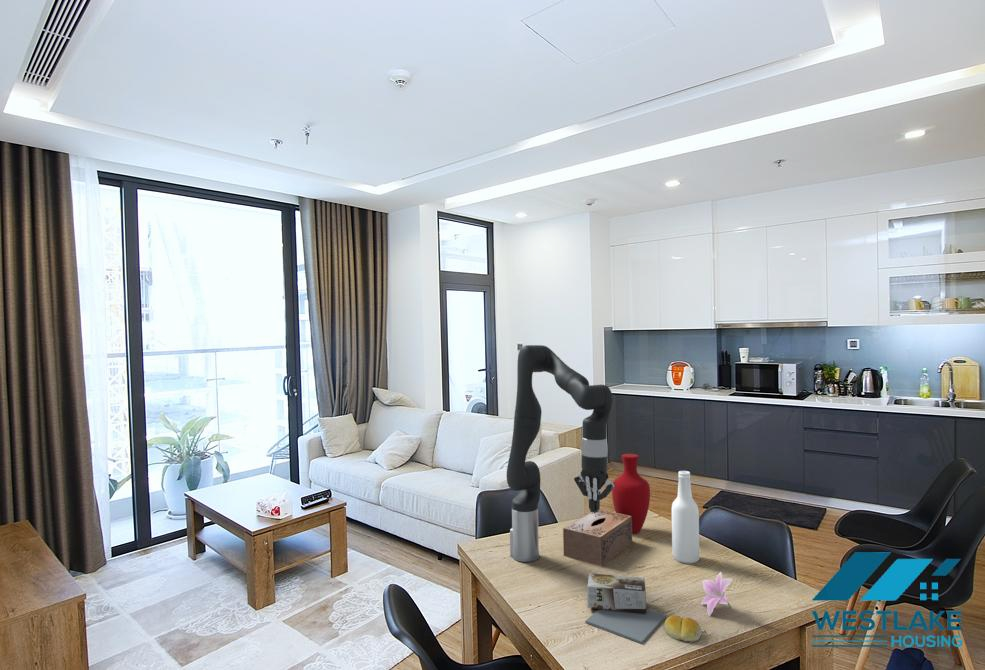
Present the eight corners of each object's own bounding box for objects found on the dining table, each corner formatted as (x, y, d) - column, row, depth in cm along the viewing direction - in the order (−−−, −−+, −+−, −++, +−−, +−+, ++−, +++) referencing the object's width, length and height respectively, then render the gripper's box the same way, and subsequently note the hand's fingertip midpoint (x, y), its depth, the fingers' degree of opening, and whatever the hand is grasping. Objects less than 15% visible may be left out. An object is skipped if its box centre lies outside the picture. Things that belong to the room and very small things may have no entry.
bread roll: (668, 621, 144) (668, 607, 144) (703, 631, 139) (703, 615, 139) (660, 636, 137) (660, 621, 137) (697, 647, 132) (696, 630, 132)
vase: (613, 537, 204) (612, 459, 204) (611, 523, 218) (610, 450, 218) (653, 539, 201) (651, 460, 201) (648, 525, 216) (647, 451, 216)
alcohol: (675, 551, 189) (673, 467, 189) (701, 556, 185) (699, 470, 185) (669, 561, 182) (668, 473, 182) (697, 566, 177) (695, 476, 177)
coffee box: (587, 608, 150) (646, 614, 146) (587, 585, 150) (646, 591, 146) (589, 594, 159) (645, 599, 155) (589, 572, 159) (645, 577, 155)
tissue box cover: (597, 534, 208) (596, 508, 208) (632, 542, 199) (631, 516, 199) (563, 556, 188) (563, 528, 188) (600, 566, 179) (600, 537, 179)
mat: (585, 622, 144) (585, 620, 144) (612, 599, 156) (612, 597, 156) (641, 643, 134) (641, 641, 134) (666, 617, 146) (666, 614, 146)
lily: (705, 597, 158) (690, 571, 157) (745, 590, 153) (730, 563, 152) (706, 630, 148) (691, 602, 147) (749, 623, 143) (733, 594, 141)
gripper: (568, 452, 157) (568, 510, 157) (608, 459, 149) (608, 520, 149) (581, 447, 163) (581, 503, 163) (621, 454, 154) (620, 513, 155)
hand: (594, 511), depth 156 cm, fingers closed
